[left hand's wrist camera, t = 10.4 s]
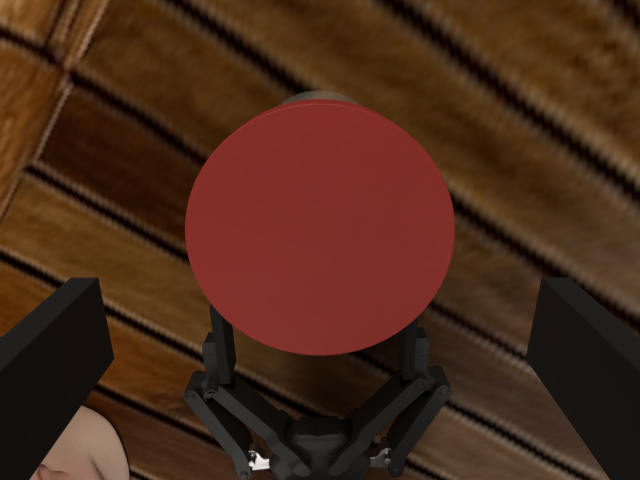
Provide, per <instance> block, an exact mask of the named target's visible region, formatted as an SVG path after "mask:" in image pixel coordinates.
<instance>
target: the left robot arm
mask: <svg viewBox="0 0 640 480" xmlns="http://www.w3.org/2000/svg"><path fill="white" fill-rule="evenodd" d="M113 360H114V355H113V350H112V345H111V340H110V335H109V330H108V325H107V320H106V315H105V310H104V305H103V300H102V295H101V290H100V285H99V280H98V278H70V279H69V280H68V281H67V282H66V283H64V284H63V285H62V286H61V287H60V288H59V289H57V290H56V291H55V292H54V293H53V294H52V295H50V296H49V297H48V298H47V299H46V300H45V301H43V302H42V303H41V304H40V305H39V306H38V307H36V308H35V309H34V310H33V311H32V312H31V313H29V314H28V315H27V316H26V317H25V318H24V319H22V320H21V321H20V322H19V323H18V324H17V325H15V326H14V327H13V328H12V329H11V330H10V331H8V332H7V333H6V334H5V335H4V336H3V337H1V338H0V480H30V478H31V477H32V476H33V474H34V473H35V471H36V470H37V468H38V467H39V466H40V464H41V463H42V461H43V460H44V458H45V457H46V456H47V454H48V453H49V451H50V450H51V448H52V447H53V446H54V444H55V443H56V441H57V440H58V438H59V437H60V436H61V434H62V433H63V431H64V430H65V428H66V427H67V426H68V424H69V423H70V421H71V420H72V418H73V417H74V416H75V414H76V413H77V411H78V410H79V408H80V407H81V406H82V404H83V403H84V401H85V400H86V398H87V397H88V396H89V394H90V393H91V391H92V390H93V388H94V387H95V386H96V384H97V383H98V381H99V380H100V378H101V377H102V376H103V374H104V373H105V371H106V370H107V368H108V367H109V365H110V364H111V363H112V361H113ZM526 360H527V361H528V363H529V364H530V366H531V367H532V368H533V370H534V371H535V373H536V374H537V376H538V377H539V378H540V380H541V381H542V383H543V384H544V386H545V387H546V388H547V390H548V391H549V393H550V394H551V396H552V397H553V398H554V400H555V401H556V403H557V404H558V406H559V407H560V408H561V410H562V411H563V413H564V414H565V416H566V417H567V418H568V420H569V421H570V423H571V424H572V426H573V427H574V428H575V430H576V431H577V433H578V434H579V436H580V437H581V438H582V440H583V441H584V443H585V444H586V446H587V447H588V448H589V450H590V451H591V453H592V454H593V456H594V457H595V458H596V460H597V461H598V463H599V464H600V466H601V467H602V468H603V470H604V471H605V473H606V474H607V476H608V477H609V478H610V480H640V338H639V337H637V336H636V335H635V334H634V333H633V332H632V331H630V330H629V329H628V328H627V327H626V326H625V325H623V324H622V323H621V322H620V321H619V320H618V319H616V318H615V317H614V316H613V315H612V314H611V313H609V312H608V311H607V310H606V309H605V308H604V307H602V306H601V305H600V304H599V303H598V302H597V301H595V300H594V299H593V298H592V297H591V296H590V295H588V294H587V293H586V292H585V291H584V290H583V289H581V288H580V287H579V286H578V285H577V284H576V283H574V282H573V281H572V280H571V279H570V278H542V280H541V285H540V290H539V295H538V300H537V305H536V310H535V315H534V320H533V325H532V330H531V335H530V340H529V345H528V350H527V354H526Z"/></svg>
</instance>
